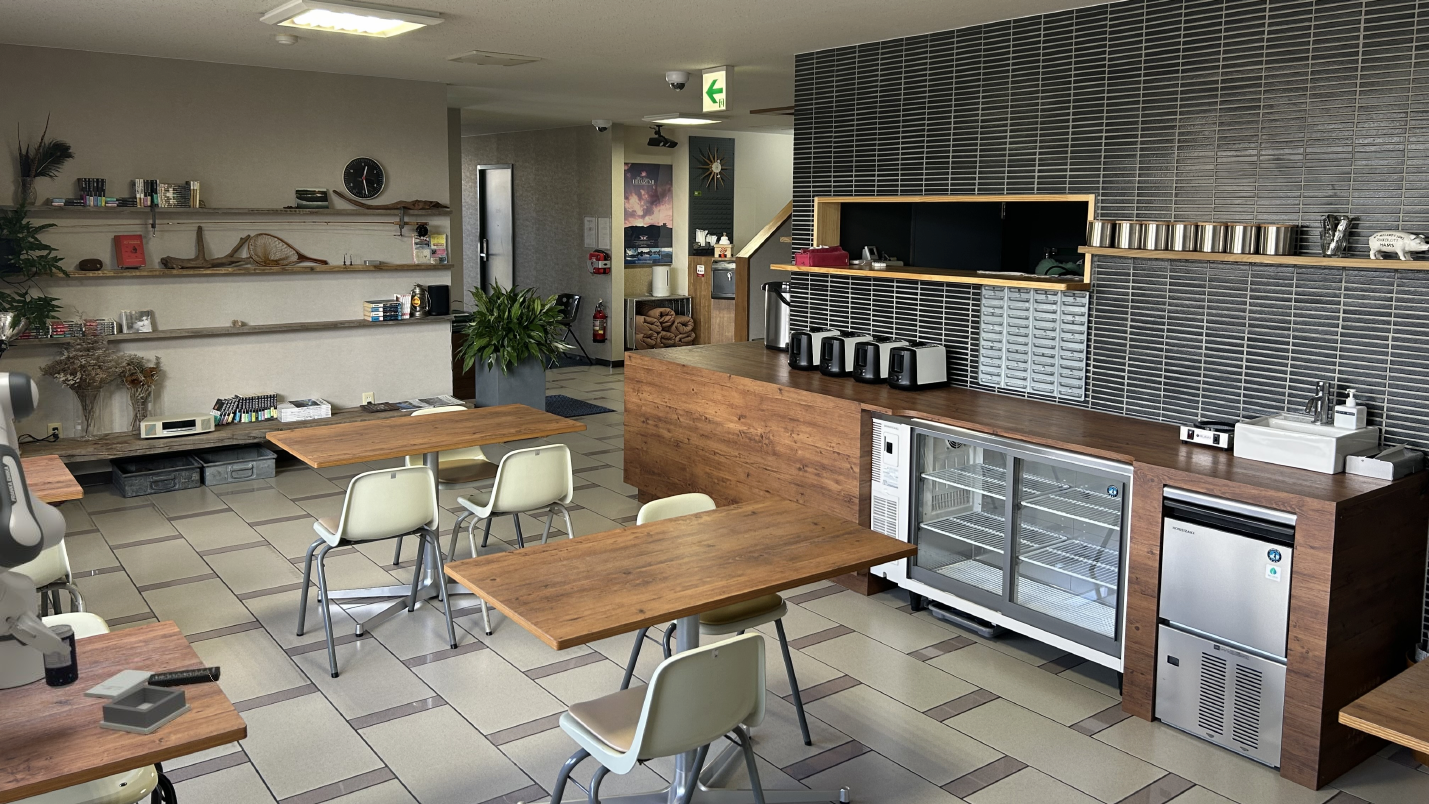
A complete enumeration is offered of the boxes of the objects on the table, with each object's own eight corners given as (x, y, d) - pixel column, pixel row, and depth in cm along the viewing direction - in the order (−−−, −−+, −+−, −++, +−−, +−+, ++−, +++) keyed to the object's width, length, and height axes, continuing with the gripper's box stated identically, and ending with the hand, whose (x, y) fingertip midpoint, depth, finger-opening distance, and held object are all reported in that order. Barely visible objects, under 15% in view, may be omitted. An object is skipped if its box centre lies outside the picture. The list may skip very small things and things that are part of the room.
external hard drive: (156, 678, 242) (115, 701, 230) (125, 675, 243) (83, 698, 231) (155, 672, 242) (115, 694, 230) (124, 669, 243) (82, 691, 231)
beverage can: (85, 681, 215) (80, 626, 213) (58, 692, 210) (53, 635, 208) (66, 676, 217) (61, 621, 215) (40, 687, 212) (34, 631, 210)
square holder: (99, 727, 217) (97, 706, 216) (145, 702, 228) (143, 682, 228) (147, 734, 214) (145, 714, 213) (190, 709, 225) (189, 689, 224)
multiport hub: (151, 683, 239) (150, 673, 238) (221, 675, 243) (220, 665, 243) (147, 691, 235) (146, 681, 234) (218, 682, 239) (218, 673, 239)
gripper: (28, 612, 198) (90, 646, 207) (-1, 586, 212) (59, 620, 221) (2, 641, 196) (66, 674, 205) (-25, 613, 210) (36, 646, 218)
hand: (62, 646), depth 213 cm, fingers closed on beverage can, 6 cm apart
